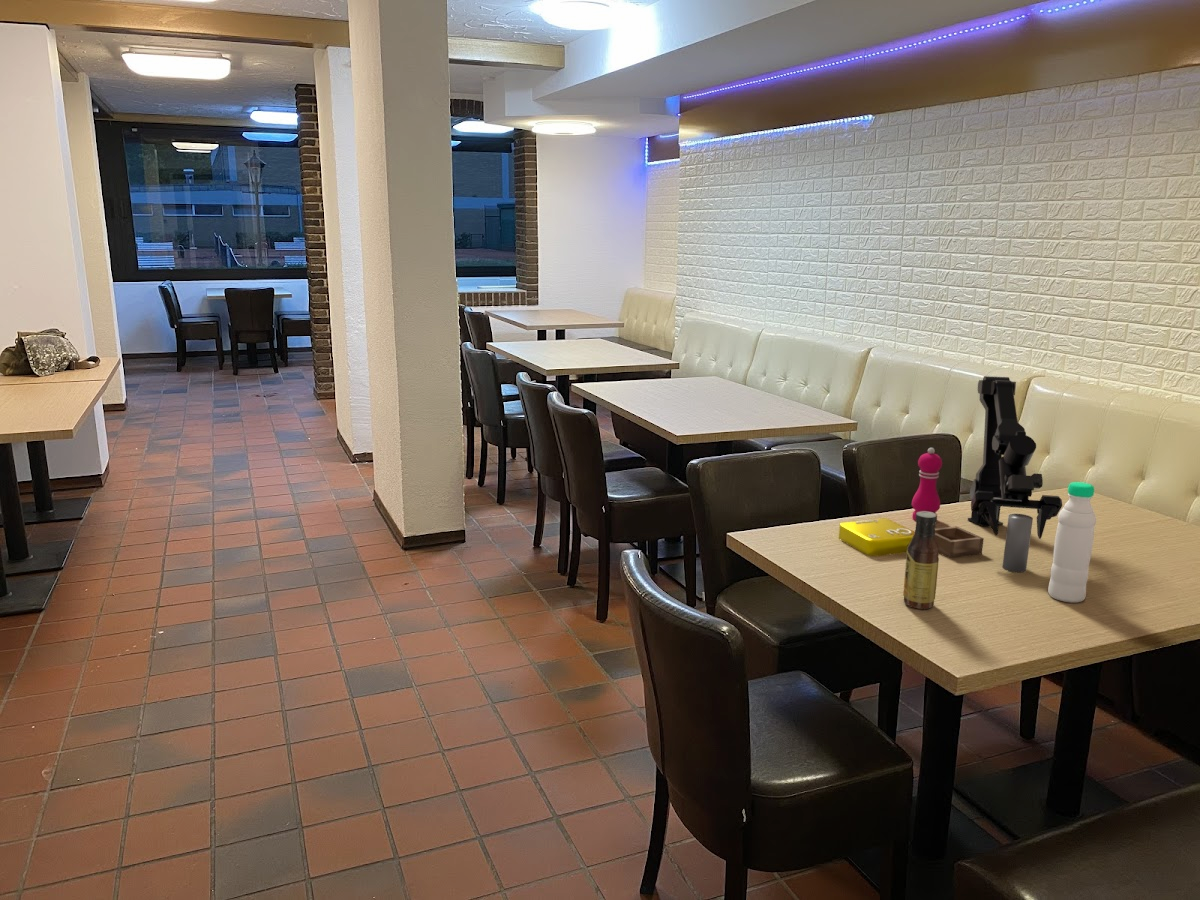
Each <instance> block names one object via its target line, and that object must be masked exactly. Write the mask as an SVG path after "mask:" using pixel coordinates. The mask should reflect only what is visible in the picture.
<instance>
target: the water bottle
mask: <svg viewBox="0 0 1200 900" xmlns="http://www.w3.org/2000/svg"><path fill="white" fill-rule="evenodd" d="M1094 494H1095V487H1094V486H1093V484H1090V483H1087V482H1082V481H1079V482H1078V481H1076V482H1075V481H1073V482H1070V483H1069V484H1068V487H1067V495H1068V498H1069V499H1068V500H1067V502H1065V504H1064V506H1062V507H1061V509H1060V511H1059V512H1058V514H1057V520H1058V523H1057V527H1056V531H1055V532H1056V533H1055V537H1054V545H1053V556H1052V557H1053V561H1052V564H1051V568H1050V580H1049V583H1048V589H1047V590H1048V591H1047V592H1048V595H1049V596H1050V597H1052V598H1053V599H1055V600H1057V601H1060V602H1065V603H1072V604H1074V603H1075V604H1076V603H1081V602H1083V601H1084V600H1085V598H1086V595H1087V581H1088V578H1089V566H1090V562H1091V557H1092V551H1093V545H1094V539H1095V538H1094V536H1095V527H1096V524H1097V517H1096V516H1097V515H1096V514H1095V511H1094V507H1093V506H1092V503H1091V500H1092V499H1093V496H1094Z"/></svg>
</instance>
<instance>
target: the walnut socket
mask: <svg viewBox="0 0 1200 900" xmlns="http://www.w3.org/2000/svg"><path fill="white" fill-rule="evenodd" d="M934 537H935V539H936V541H937V543H938V545H939V554H941V555H942V554H943V556H945V557H946V558H948V557H949V558H948V559H952V558H953V559H954V558H960V557H961V558H962V557H968V556H969V555H970V556H975V555H976V556H977V555H978V556H979V555H982V554H983V547H984V537H982V536H980V535H977V534H976V533H975V534H974V533H973V532H971V531H968V530H966V529H964V528H961V527H960V526H957V525H956V526H955V525H954V526H947V527H940V528H935V535H934ZM970 556H969V557H970Z"/></svg>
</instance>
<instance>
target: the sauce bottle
mask: <svg viewBox="0 0 1200 900" xmlns="http://www.w3.org/2000/svg"><path fill="white" fill-rule="evenodd" d="M936 514H937V513H936ZM936 514H935V513H933V512H928V511H921V512H917V513H916V518H915V519H916V521H915V530H914V532H915V534H914V536H913V538H912V540H911V542H910V544H909V546H908V548H907V553H906V558H905V568H904V580H903V581H904V582H903V593H902V594H903V595H902V596H903V602H904V604H905V605H906V606H908V607H910V608H913V609H918V610H927V609H930V608H933V606H935V605H934V603H935V599H936V594H937V593H936V592H937V581H938V572H939V561H940V559H939V554H940V553H939V545H938V543H937V541H936V539H935V537H934V535H935V529H936V523H937V521H938V514H937V515H936Z"/></svg>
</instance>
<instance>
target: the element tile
mask: <svg viewBox="0 0 1200 900" xmlns="http://www.w3.org/2000/svg"><path fill="white" fill-rule="evenodd" d="M838 528H839V531H838V539H839V540H840V539H841V540H842V541H841V540H840V541H841V542H843V541H844V542H843V543H845V542H846V543H848V544H849V545H848V544H847V545H848V546H850V545H851V547H852V548H853V547H854V548H853V549H855V548H856V549H855V550H857V551H859V552H861V553H863V555H866V556H870V557H881V556H882V555H883V556H891V555H899V554H905V553H906V554H907V548H908V546H909V544H910V542H911V540H912V538H913V536H914V534H915V530H912V529H910V528H908V527H906V526H904V525H902V524H900V523H898V522H896V521H893V520H892V519H891V518H885V517H884V518H874V519H865V520H856V521H855V520H854V521H845V522H840V524H839V527H838ZM846 543H845V544H846ZM890 554H891V555H890Z"/></svg>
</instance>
